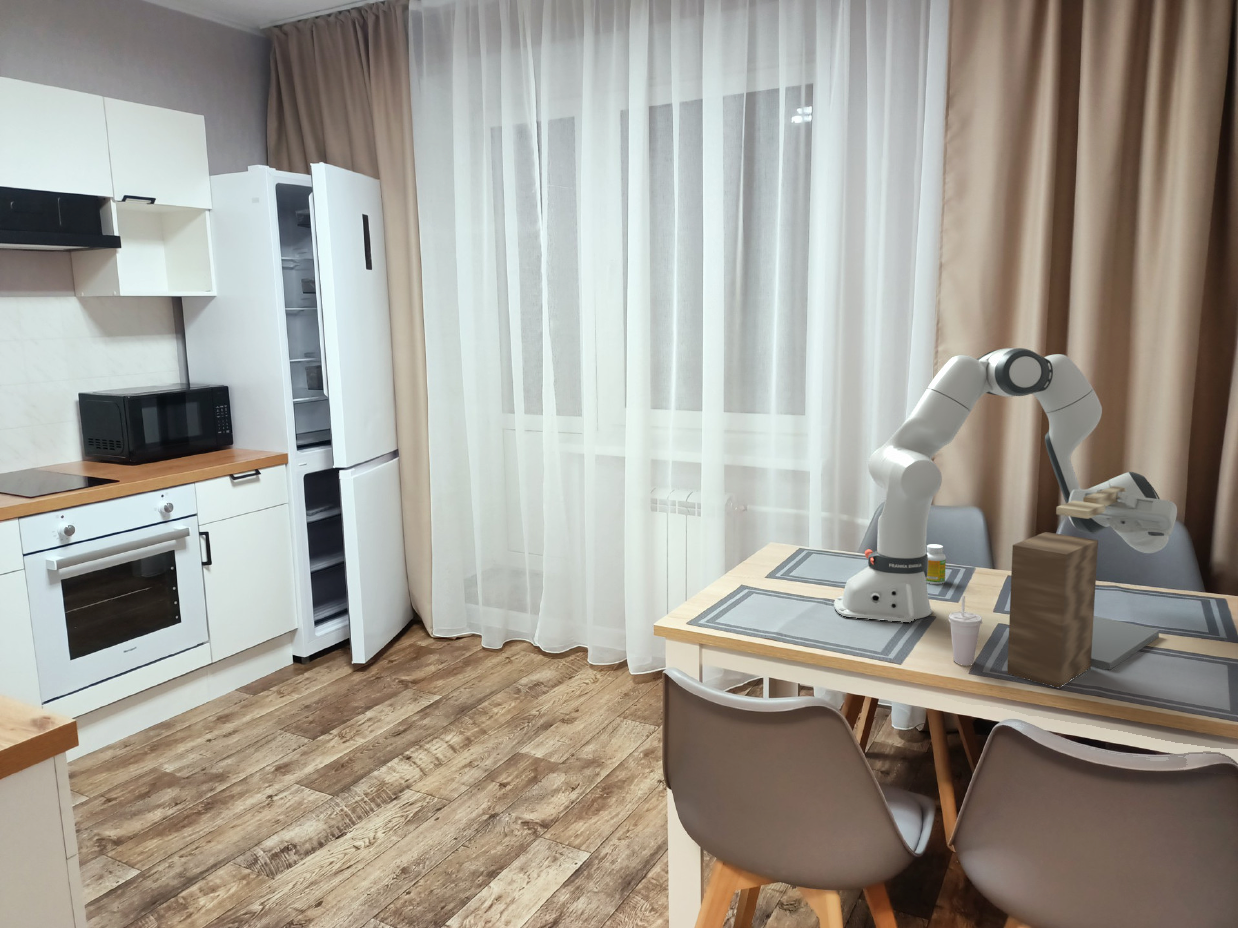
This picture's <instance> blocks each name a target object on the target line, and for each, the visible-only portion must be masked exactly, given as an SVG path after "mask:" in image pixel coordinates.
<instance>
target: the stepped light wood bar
mask: <svg viewBox="0 0 1238 928" xmlns="http://www.w3.org/2000/svg"><path fill="white" fill-rule="evenodd" d="M1117 491H1119V492H1125V487H1116V486H1113V487H1110V488H1107V489H1104V490H1102V491H1099V492H1096V493H1094V494H1091V495H1088V496H1086V497H1083V502H1082V501H1071V502H1068V503H1063V504H1061V505H1058V506H1056V511H1055V512H1056V513H1055V514H1056V515H1059V516H1066V517H1068V516H1072V517H1079V518H1086V519H1089V518H1091V517H1093V516H1096V515H1098V514H1101V513H1103V512H1105V506H1108V505H1110V504H1113V503H1115V502H1118V501H1117V500H1116V495H1117V494H1116V493H1117Z"/></svg>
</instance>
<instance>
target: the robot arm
mask: <svg viewBox="0 0 1238 928" xmlns="http://www.w3.org/2000/svg"><path fill="white" fill-rule="evenodd" d="M985 394H989V395H993V396H1000V397H1007V398H1008V397H1009V398H1010V397H1011V398H1012V397H1025V396H1029V395H1033V396H1034V398H1035V399H1036V400H1037V401H1038V402H1039V404H1040V406H1041V407H1042V409H1043V411H1044V413H1045V415H1046V417H1047V419H1048V424H1049V425H1048V426H1049V428H1048V431H1047V433H1046V434H1045V436H1044V444H1045V447H1046V450H1047V454H1048V456H1049V457H1048V458H1049V460H1050V463H1051V466H1052V469H1053V472H1054V475H1055V477H1056V480H1057V482H1058V486H1059V488H1060V492H1061V494H1062V497H1063V498H1064V504H1066V503H1068V502H1071V501H1082V502H1083V497H1086V496H1088V495H1091V494H1094V493H1096V492H1099V491H1102V490H1104V489H1107V488H1110V487H1113V486H1116V487H1125V492H1119V491H1117V493H1116V494H1117V495H1116V500H1117V501H1118V502H1115V503H1113V504H1110V505H1108V506H1105V512H1103V513H1101V514H1098V515H1096V516H1093V517H1091V518H1089V519H1086V518H1079V517H1072V516H1067V517H1068V519H1069V520H1070V523H1071V524H1072V526H1073V527H1074V528H1075V529H1076V530H1077V531H1079V532H1083V533H1086V534H1092V535H1095V534H1097V533H1099V532H1102V531H1103V530H1105V529H1107V528H1108V527H1111V528H1112V529H1113V531H1114V532H1115V533H1116V534H1118V535H1119V536H1120V537H1121V538H1122V540H1123V541H1124V542H1126V544H1127V545H1129V547H1131V548H1132V549H1134V550H1135V551H1138V552H1140V553H1144V554H1153V553H1156V552H1159V551H1161V550H1162V549H1164V548H1165V547H1166V545H1167V544H1168V542H1169V538H1170V536H1171V535H1172V533H1173V530H1174V527H1175V524H1176V522H1177V521H1176V519H1177V513H1178V508H1177V505H1176V503H1174V502H1173V501H1171V500H1168V499H1161V498H1160V497H1159V494H1158V493H1157V491H1156V490H1155V488H1154V487H1153V485H1152V484H1151V483H1150V482H1149V481H1148V479H1147V478H1146V477H1145V476H1144V475H1142V474H1140V473H1137V472H1134V471H1128V472H1125V473H1122V474H1120V475H1118V476H1115V477H1113V478H1110V479H1108V480H1107V481H1104V482H1102V483H1101V482H1100V483H1099V484H1097V485H1095V486H1091V487H1090V488H1085V489H1083V488H1081V486H1080V484H1079V481H1078V478H1077V475H1076V472H1075V469H1074V467H1073V464H1072V462H1071V457H1072V454H1073V453H1074V451H1075V450H1076V448H1077V447H1079V445H1080V444H1081V443H1082V442H1083V441H1084V440H1085V439H1087V438H1088V436H1090V434H1091V433H1092V432H1093V431H1094V430H1096V428H1097V426H1098V424H1099V423H1100V421H1101V418H1102V413H1103V407H1102V405H1101V402H1100V401H1101V400H1100V399H1099V397H1098V395H1097V393H1096V391H1095V390H1094V388H1093V386H1092V385H1091V383H1090V382H1089V380H1088V378H1087V377H1086V376H1085V375H1084V373H1083V371H1082V370H1081V369H1080V368H1079V367H1078V366H1077V365H1076V364H1075V363H1074V361H1073V360H1072V359H1071V358H1070V357H1069V356H1067V355H1066V354H1059V353H1057V354H1051V355H1050V354H1049V355H1046V356H1042V355H1041V354H1039V353H1036V352H1034V351H1033V350H1030V349H1027V348H1022V347H1019V348H1014V347H1005V348H1004V347H1003V348H1001V349H996V350H992V351H988V352H987V353H985V354H983V355H981V356H980V357H978V358H975V357H973V356H970V355H965V354H959V355H955V356H953V357H951V358H949V360H948V361H947V362H946V363H945V364H944V365H943V366H942V368H941V369H940V370H939V371H938V373H936V375H935V376H934V377H933V379H932V380H931V382H930V383H929V385H928V386H927V388H926V390H925V391H924V393H923V394H922V396H921V397H920V399H919V400H918V402H917V404H916V405H915V407H914V408H913V410H912V411H911V413H910V414H909V416H908V417H907V418H906V419H905V421H903V423H902V425H900V427H898V429H896V431H895V432H894V433H893V434H892V435H891V436H890V438H888V439H887V440H886V442H885V443H884V444H882V446H880V447H879V448H877V449H875V450H874V452H872V454H871V455H870V457H869V460H868V465H867V466H868V472H869V474H870V476H871V478H872V479H873V481H874V482H875V484H877V486H879V487H881V488H882V489H883V490H885V500H884V505H883V508H882V512H881V514H880V516H879V517H878V520H877V539H876V542H877V544H876V545H877V546H876V548H877V549H876V550H875V551H873V550H872V549H866V550H865V551H864V556H865V559H867V563H868V564H867V565H868V566H866V567H865V568H862V570H860V571H859V572H858V573H855V575H853V576H851V577H849V579H847V581H846V583H845V586H844V588H843V589H844V590H843V595H840V596H837V598H835V600H834V601H833V608H834V607H835V609H836V610H837V611H838V612H839V613H840V614H842V615H843V616H851V617H856V618H855V619H857V618H868V619H867V620H869V619H871V618H872V619H884V620H888V621H887V622H892V621H901V622H900V623H903V622H909V623H911V621H912V622H913V621H915V620H918V619H921V618H922V619H923V618H925V617H928V616H930V615H931V614H932V612H933V611H932V607H931V603H930V598H929V593H928V586H927V585H928V583H926V577H927V573H928V555H927V553H928V552H927V533H928V532H927V531H928V527H927V526H928V521H929V516H930V515H929V514H930V512H931V506H932V503H933V501H934V497H935V496H936V494H937V493H938V492H939V491H940V488H941V486H942V483H943V482H942V481H943V479H942V478H943V477H942V473H941V470H940V468H939V467H938V465H937V464H936V463H935V462H934V461H933V460H932V458H933V457H934V456H935V455H936V454H937V453H938V452H939V451H941V449H942V448H944V447H945V446H947V445H949V444H950V443H951V442H952V441H953V440H954V439H955V438H956V436H957V434H958V433H959V430H961V428H962V427H963V424H964V423H965V421H966V420H967V418H968V417H969V415H970V414H971V412H972V410H973V409H974V407H975V405H976V404H977V401H979V399H980V398H982V397H983V395H985ZM835 609H834V610H835ZM843 616H842V617H843ZM914 619H915V620H914ZM890 620H892V621H890Z"/></svg>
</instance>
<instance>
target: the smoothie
mask: <svg viewBox="0 0 1238 928" xmlns="http://www.w3.org/2000/svg"><path fill="white" fill-rule="evenodd" d="M965 600H966V595H962V596H961V611H953V612H951V613H950V614H948V621H949V623H950V631H951V632H950V633H951V643H952V644H951V645H952V652H953V653H952V654H953V662H954V661H955V662H956V663H959V664H962V665H961V666H963V665H970V666H972V665H971V664H973V663H975V658H976V651H977V646H978V641H979V634H980V629H981V625H982V624H983V617H982V616H981V615H979V614H977V613H974V612H968V611H965V609H966V607H965V606H966V605H965V603H966V601H965ZM955 662H954V663H955ZM956 663H955V664H956ZM973 665H974V664H973Z"/></svg>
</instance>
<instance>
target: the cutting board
mask: <svg viewBox="0 0 1238 928" xmlns="http://www.w3.org/2000/svg"><path fill="white" fill-rule="evenodd" d="M1159 637H1160V630H1159V629H1156V628H1150V627H1146V626H1144V625H1143V626H1141V625H1137V624H1133V623H1127V622H1124V621H1120V620H1115V619H1110V618H1105V617H1101V616H1096V615H1094V619H1093V636H1092V653H1091V665H1093V666H1092V667H1096V668H1099V667H1100V668H1099V669H1104V670H1107V669H1109V670H1108V671H1111V670H1112V669H1114V668H1115V667H1116V666H1119V664H1121V663H1122V662H1124V661H1126V660H1127V659H1129V658H1130V657H1132V656H1134V654H1135V653H1137V652H1139V651H1140V650H1142V649H1143V648H1144V647H1146V646H1148V645H1149V644H1150V643H1152V642H1153V641H1155V640H1156V639H1158V638H1159ZM1113 667H1114V668H1113ZM1110 669H1111V670H1110Z"/></svg>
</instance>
